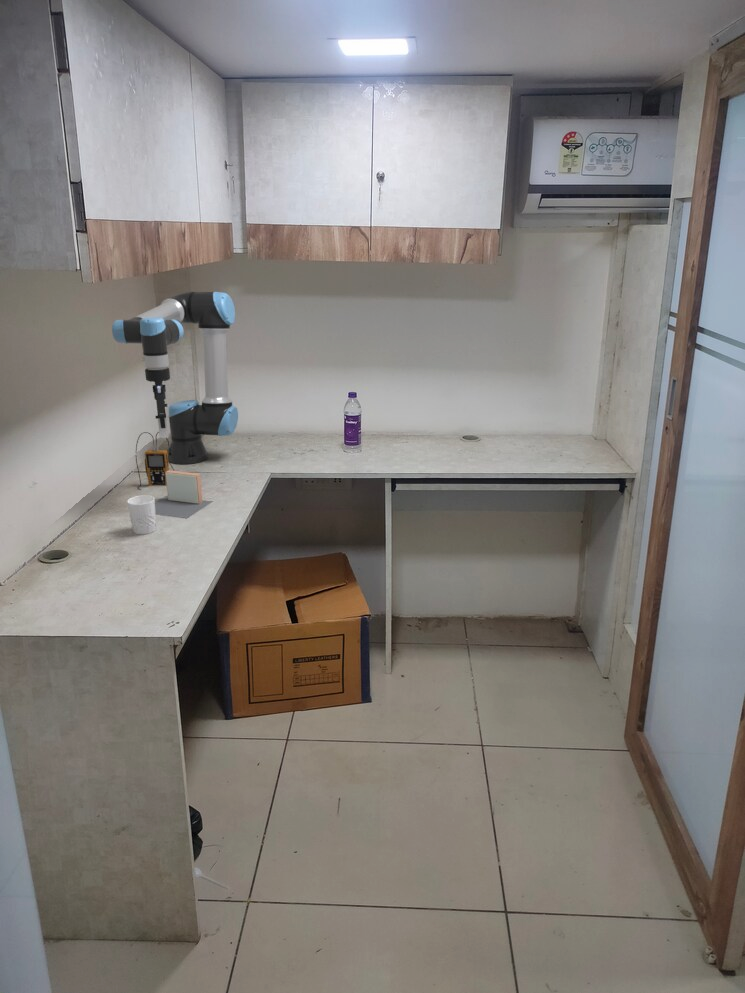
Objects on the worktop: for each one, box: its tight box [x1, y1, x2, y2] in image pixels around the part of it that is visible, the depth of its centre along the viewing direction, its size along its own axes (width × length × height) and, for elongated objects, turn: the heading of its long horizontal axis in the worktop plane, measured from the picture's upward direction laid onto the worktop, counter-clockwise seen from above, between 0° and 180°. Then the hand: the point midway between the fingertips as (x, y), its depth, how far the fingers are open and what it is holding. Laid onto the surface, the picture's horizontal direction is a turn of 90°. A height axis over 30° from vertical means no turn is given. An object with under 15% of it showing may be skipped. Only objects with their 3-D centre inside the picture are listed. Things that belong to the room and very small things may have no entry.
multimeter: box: [135, 431, 175, 491], centre depth 250 cm, size 15×10×20 cm
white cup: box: [127, 495, 157, 535], centre depth 217 cm, size 8×8×10 cm
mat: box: [155, 495, 213, 520], centre depth 236 cm, size 16×18×1 cm
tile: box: [165, 469, 203, 504], centre depth 239 cm, size 2×12×10 cm, turn 72°
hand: (163, 432), depth 235 cm, fingers open, 13 cm apart
